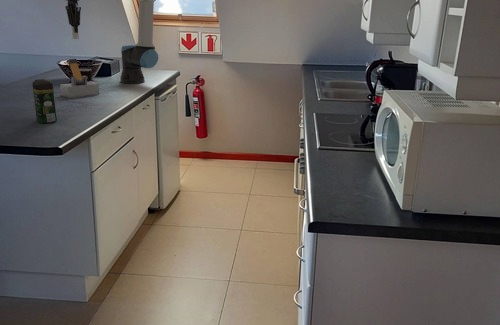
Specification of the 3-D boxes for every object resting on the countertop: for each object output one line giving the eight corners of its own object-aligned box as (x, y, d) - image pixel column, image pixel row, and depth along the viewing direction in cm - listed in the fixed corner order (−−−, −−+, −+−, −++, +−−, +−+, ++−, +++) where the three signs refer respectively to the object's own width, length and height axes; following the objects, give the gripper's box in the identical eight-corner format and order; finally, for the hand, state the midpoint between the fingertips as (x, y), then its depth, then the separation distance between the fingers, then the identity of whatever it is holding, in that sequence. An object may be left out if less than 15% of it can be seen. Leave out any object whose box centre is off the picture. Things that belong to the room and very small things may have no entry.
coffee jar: (34, 119, 222) (29, 78, 215) (52, 117, 226) (48, 77, 220) (40, 124, 214) (35, 82, 208) (59, 122, 219) (54, 81, 213)
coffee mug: (95, 85, 300) (93, 69, 297) (89, 88, 292) (88, 71, 289) (76, 84, 301) (75, 68, 298) (70, 87, 293) (69, 70, 290)
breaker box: (61, 95, 271) (59, 77, 268) (91, 91, 283) (89, 74, 280) (68, 98, 265) (66, 79, 262) (99, 94, 277) (97, 76, 274)
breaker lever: (75, 84, 271) (67, 61, 272) (82, 83, 274) (75, 60, 275) (76, 82, 269) (69, 59, 270) (84, 82, 272) (76, 58, 273)
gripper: (59, -8, 259) (63, 38, 267) (70, -8, 250) (75, 40, 258) (72, -8, 264) (76, 37, 272) (84, -7, 255) (88, 39, 263)
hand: (75, 38), depth 265 cm, fingers closed
